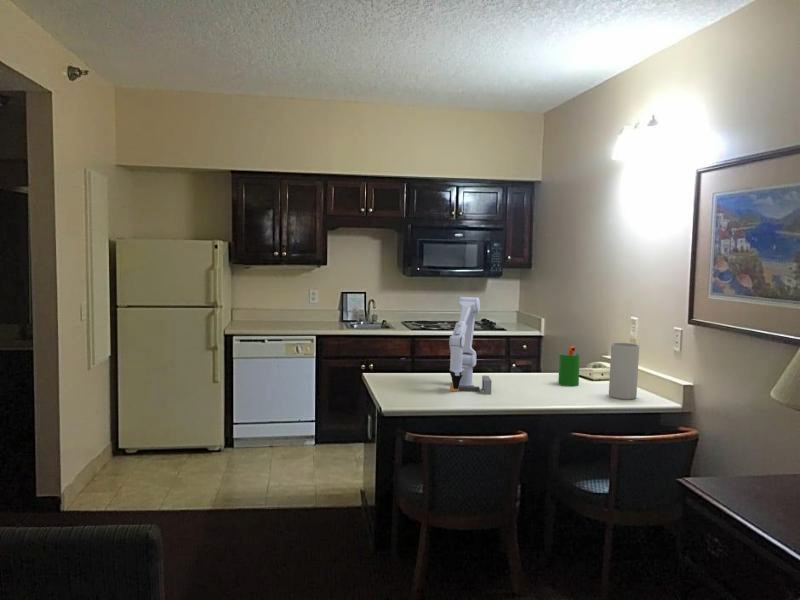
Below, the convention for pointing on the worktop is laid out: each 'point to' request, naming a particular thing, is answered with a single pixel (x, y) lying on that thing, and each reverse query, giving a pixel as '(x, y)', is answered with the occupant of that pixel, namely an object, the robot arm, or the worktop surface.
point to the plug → (464, 388)
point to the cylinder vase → (623, 371)
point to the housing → (486, 384)
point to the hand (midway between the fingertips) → (455, 387)
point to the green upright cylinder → (569, 368)
